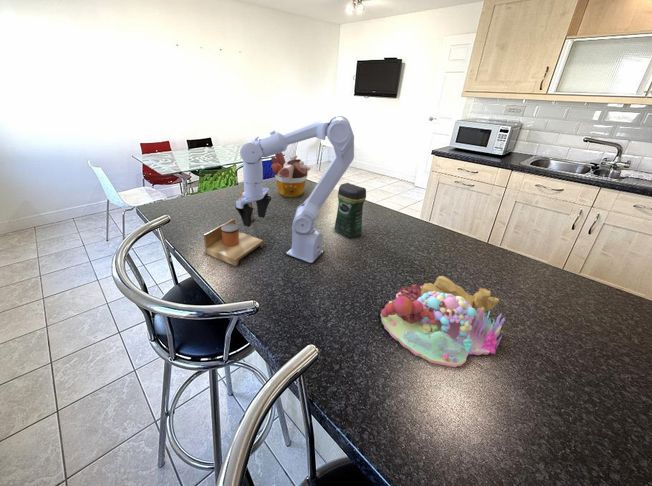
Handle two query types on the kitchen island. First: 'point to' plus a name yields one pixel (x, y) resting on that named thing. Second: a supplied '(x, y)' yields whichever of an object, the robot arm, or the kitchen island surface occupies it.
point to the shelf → (229, 252)
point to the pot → (230, 234)
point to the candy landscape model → (443, 322)
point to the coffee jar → (350, 209)
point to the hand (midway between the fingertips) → (254, 221)
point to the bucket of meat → (289, 175)
